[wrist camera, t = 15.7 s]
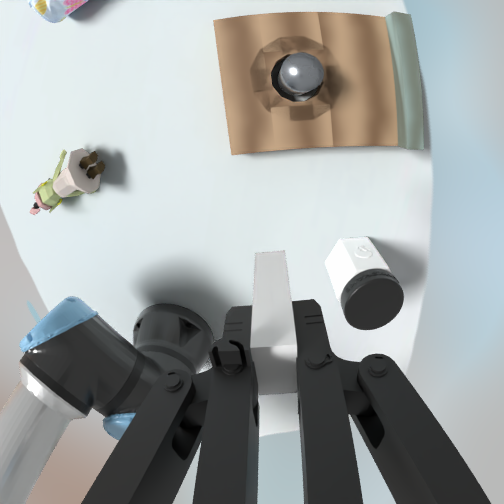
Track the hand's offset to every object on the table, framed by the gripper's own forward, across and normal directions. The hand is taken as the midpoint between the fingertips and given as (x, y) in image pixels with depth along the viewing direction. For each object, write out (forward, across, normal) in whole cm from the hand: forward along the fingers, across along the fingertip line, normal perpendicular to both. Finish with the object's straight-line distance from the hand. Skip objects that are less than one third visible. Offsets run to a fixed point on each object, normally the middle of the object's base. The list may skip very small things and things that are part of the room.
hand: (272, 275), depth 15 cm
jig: (+26, +8, +12) cm, 30 cm away
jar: (+27, +12, -15) cm, 33 cm away
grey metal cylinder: (+26, +5, +12) cm, 29 cm away
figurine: (+27, -30, +4) cm, 40 cm away
